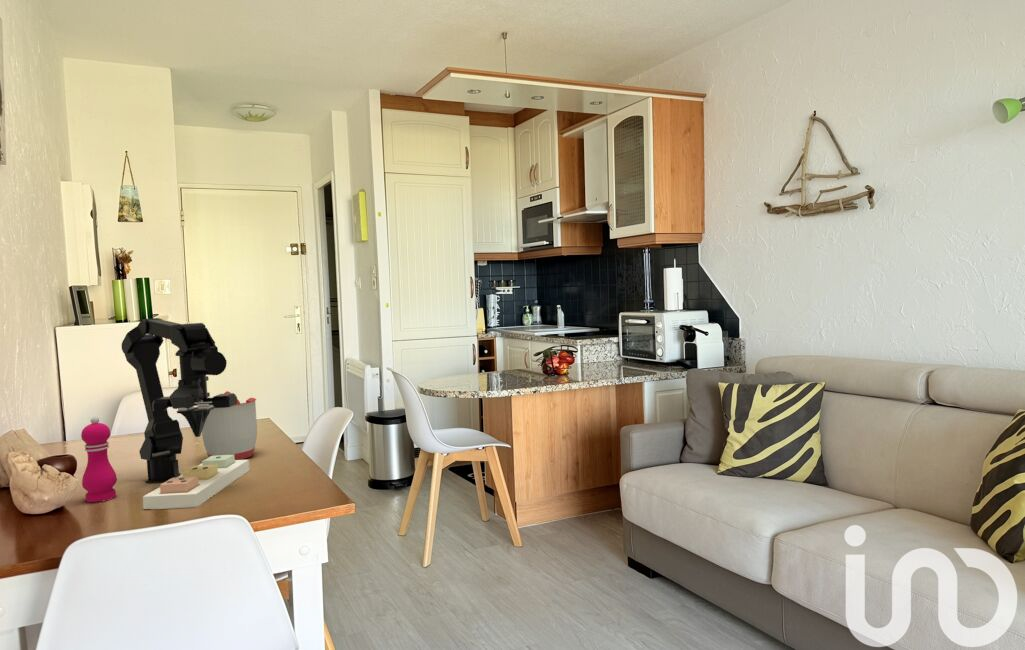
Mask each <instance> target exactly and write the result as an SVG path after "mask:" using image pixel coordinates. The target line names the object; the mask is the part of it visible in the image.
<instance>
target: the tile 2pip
mask: <svg viewBox="0 0 1025 650" xmlns="http://www.w3.org/2000/svg"><path fill="white" fill-rule="evenodd" d="M182 474H183V477H197V476H198V480H207V479H210V478H212V477H213V476H215V475H216V474H218V468H217V465H204V466H198V465H193V466H190V467H189V468H187V469H186V470H184V471H182V473H181V475H182Z"/></svg>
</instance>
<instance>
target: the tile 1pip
mask: <svg viewBox="0 0 1025 650" xmlns="http://www.w3.org/2000/svg"><path fill="white" fill-rule="evenodd" d="M234 463H235V458H234V455H216V456H211V457H209V456H208V457H207V458H205V459H203V460H201V464H202V466H204V465H217V468H227V467H229V466H230V465H232V464H234Z"/></svg>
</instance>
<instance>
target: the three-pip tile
mask: <svg viewBox="0 0 1025 650" xmlns="http://www.w3.org/2000/svg"><path fill="white" fill-rule="evenodd" d="M197 486H199V485H198V476H197V477H179V476H178V478H177V477H176V478H171V479H169V480H168V481H166V482H162V483H161V484H159V487H160V493H161V494H170V493H188V492H189V491H191V490H193V489H194V488H196V487H197Z"/></svg>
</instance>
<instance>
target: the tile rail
mask: <svg viewBox="0 0 1025 650" xmlns="http://www.w3.org/2000/svg"><path fill="white" fill-rule="evenodd" d="M197 466H202V463H200V464H198V465H197ZM249 471H250V459H241V460H235V463H234V464H232V465H230V466H229V467H227V468H218V474H216V475H215V476H213V477H212V478H210V479H207V480H198V485H199V486H197V487H196V488H194V489H193V490H191V491H189V492H188V493H170V494H161V493H160V486H159V487H158V488H156V489H154V490H152V491H150V492H149V493H147V494H145V495H143V496H142V505H143V510H144V509H151V510H165V509H167V510H168V509H186V508H188V509H189V508H198V507H200V506H201V505H202V504H204V503H205V502H206V501H208V500H209V499H210V497H211V498H212V497H214V496H216V495H217V494H218V493H219V492H221V491H222V490H223V489H225V488H227V487H228V486H229V485H231V484H232V483H234V482H235V481H237V480H238V479H239V478H241V477H242V476H243V475H245V474H246V473H248V472H249ZM178 477H183V474H182V473H181V474H180V476H178ZM178 477H176V478H178ZM213 495H214V496H213Z"/></svg>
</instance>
